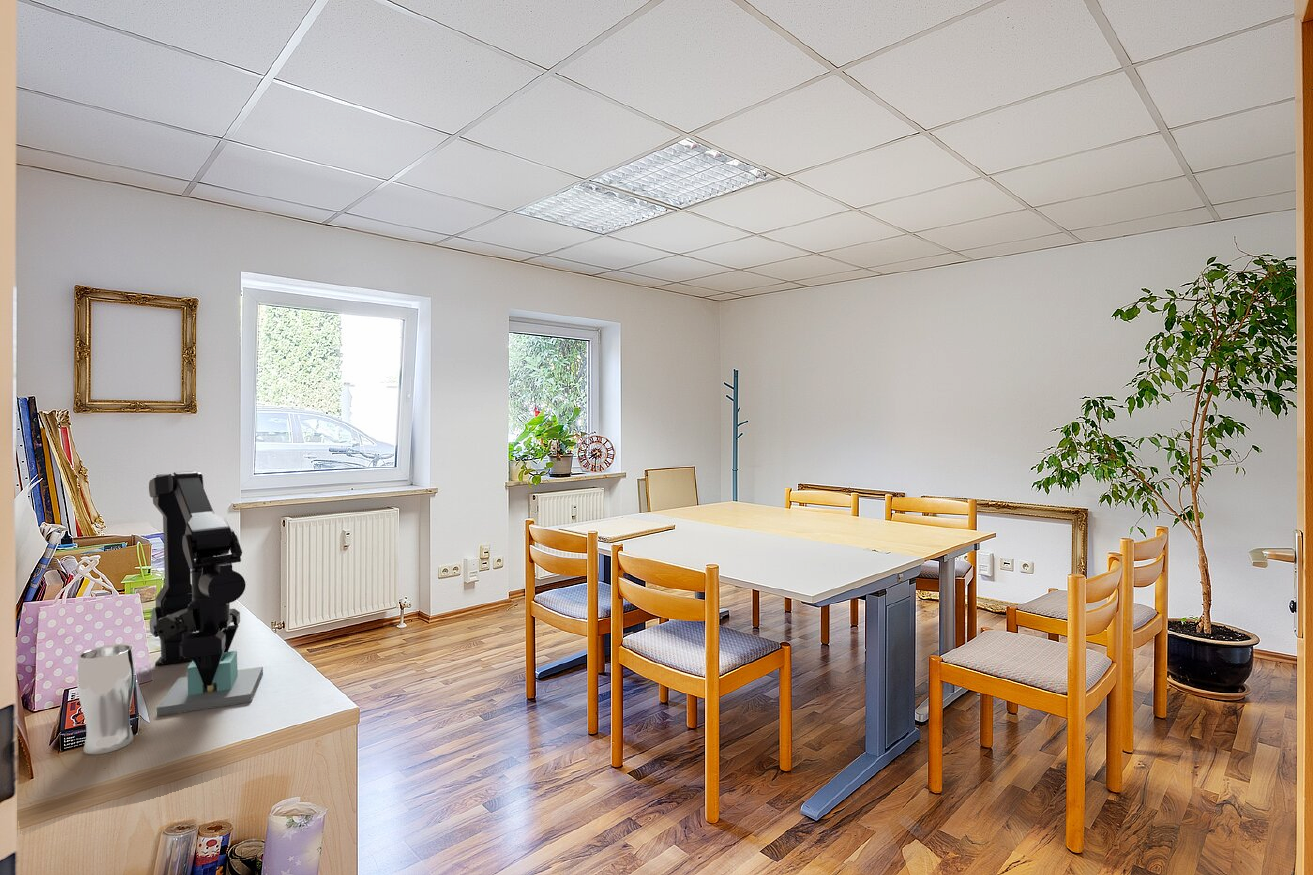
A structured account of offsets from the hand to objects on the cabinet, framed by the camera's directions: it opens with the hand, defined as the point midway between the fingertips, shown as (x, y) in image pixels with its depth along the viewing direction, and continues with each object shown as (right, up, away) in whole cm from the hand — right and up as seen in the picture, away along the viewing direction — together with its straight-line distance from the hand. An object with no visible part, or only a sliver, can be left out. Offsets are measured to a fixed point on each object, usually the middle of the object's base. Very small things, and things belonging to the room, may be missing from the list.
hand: (213, 676), depth 123 cm
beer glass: (-4, -4, -19) cm, 20 cm away
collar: (0, -2, 0) cm, 2 cm away
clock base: (0, -3, 0) cm, 3 cm away
